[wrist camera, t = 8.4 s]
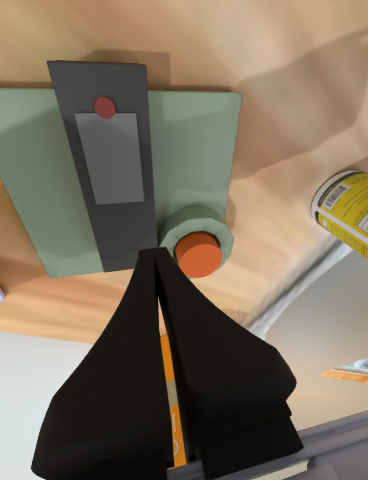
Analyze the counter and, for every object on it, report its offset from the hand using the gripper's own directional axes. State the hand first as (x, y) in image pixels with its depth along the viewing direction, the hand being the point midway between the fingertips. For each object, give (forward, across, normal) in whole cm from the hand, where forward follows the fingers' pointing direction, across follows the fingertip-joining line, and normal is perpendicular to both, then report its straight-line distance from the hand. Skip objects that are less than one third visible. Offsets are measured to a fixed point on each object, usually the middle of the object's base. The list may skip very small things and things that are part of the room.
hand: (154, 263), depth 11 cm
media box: (+9, +1, 0) cm, 9 cm away
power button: (+6, -4, +4) cm, 8 cm away
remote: (+7, +2, -2) cm, 8 cm away
